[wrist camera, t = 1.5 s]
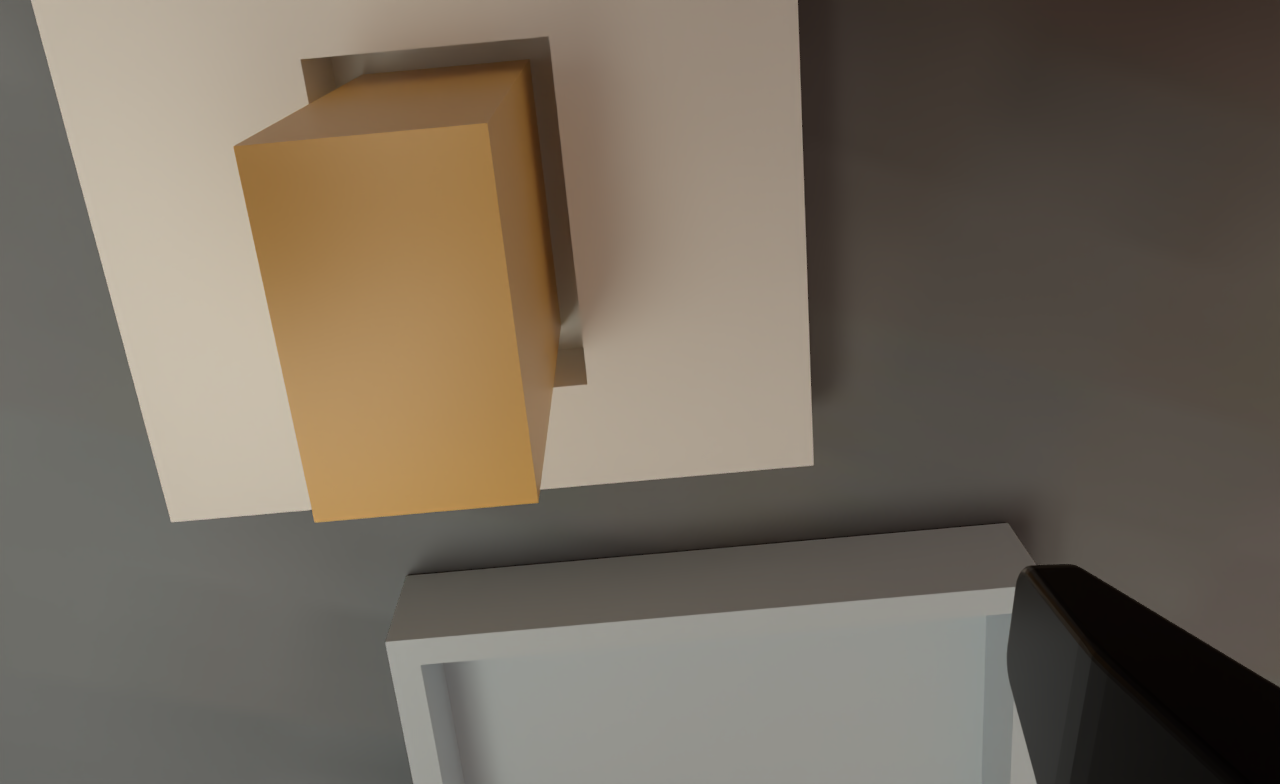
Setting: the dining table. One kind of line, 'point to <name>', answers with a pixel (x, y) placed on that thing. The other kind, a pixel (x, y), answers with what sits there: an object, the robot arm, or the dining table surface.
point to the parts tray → (719, 666)
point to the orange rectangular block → (410, 288)
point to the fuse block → (576, 202)
